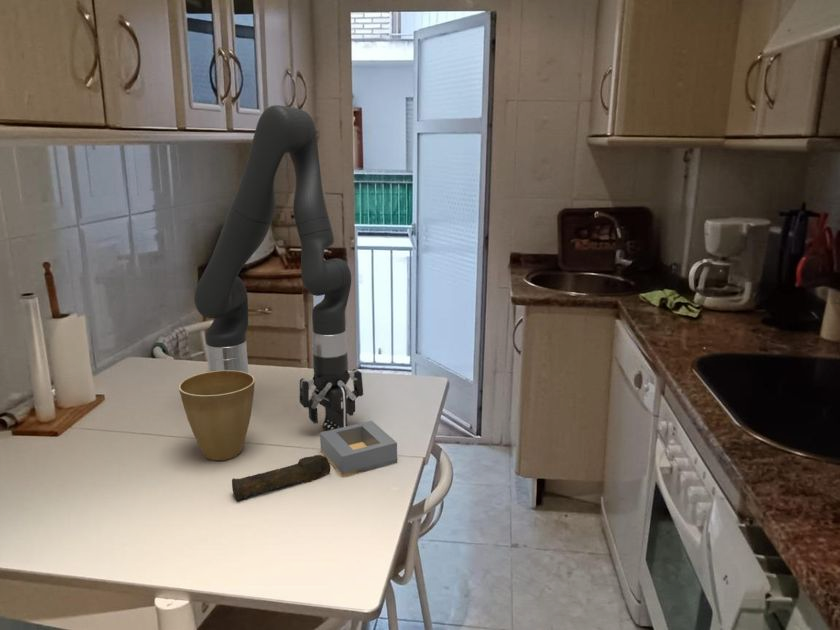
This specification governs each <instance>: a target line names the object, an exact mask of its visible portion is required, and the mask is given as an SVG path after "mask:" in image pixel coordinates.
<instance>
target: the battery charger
mask: <svg viewBox="0 0 840 630" xmlns="http://www.w3.org/2000/svg"><path fill="white" fill-rule="evenodd" d="M319 393H320V392H319ZM347 398H348V396H347V394H346V389H345V387H344V386H340V387H339V386H338V385H337V386H332V387H331V388H330V389H329V390H328V391H327V394H326V395H325V396H324V398H323V399H322V401H320V402H319V404H318V405H320V406H322V407H324V410H325V417H324V421H323V424H322V428H323V429H324V430H325V431H329V430H333V429H338V428H342V427H346V426H348V414H347Z"/></svg>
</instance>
